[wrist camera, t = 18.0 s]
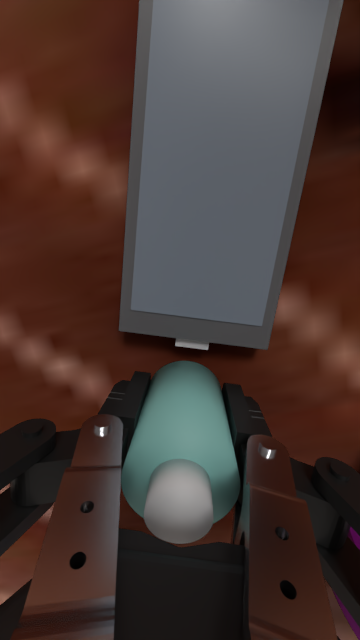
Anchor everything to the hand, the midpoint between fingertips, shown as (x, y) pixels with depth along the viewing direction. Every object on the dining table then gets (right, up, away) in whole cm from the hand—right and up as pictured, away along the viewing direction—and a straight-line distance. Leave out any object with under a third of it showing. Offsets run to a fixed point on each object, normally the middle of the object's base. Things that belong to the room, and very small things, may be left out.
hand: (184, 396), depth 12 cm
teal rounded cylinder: (0, 0, 0) cm, 0 cm away
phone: (+1, +10, -1) cm, 10 cm away
